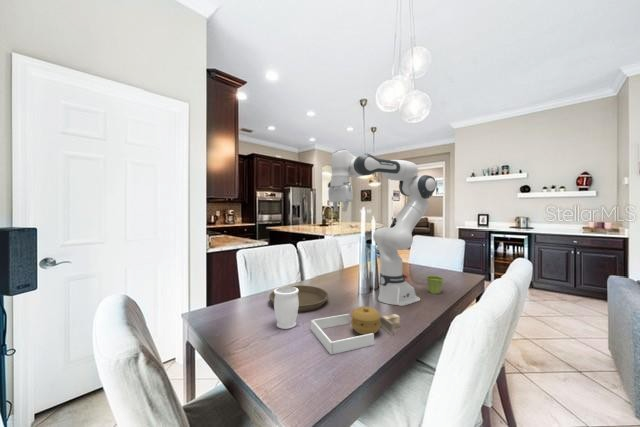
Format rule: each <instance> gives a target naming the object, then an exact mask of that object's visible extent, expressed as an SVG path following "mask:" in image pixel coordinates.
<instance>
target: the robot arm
mask: <svg viewBox="0 0 640 427" xmlns="http://www.w3.org/2000/svg"><path fill="white" fill-rule="evenodd" d="M330 166H331V167H330V169H331V176H330V178H331V179H330V180H329V182H328V184H327V188H328V191H327V192H328V201H329V203H332V207H333V211H334V212H339V207H338V204H339V203H343V207H342V210H341V211H342V212H343V213H344V212H346V213H347V211H348V207H349V202H353V200H354V190H353V186H352V184H351V182H350V177H351V178H359V177H364V176H371V175H373V174H374V173H383V176H384V177H385V179H387V180H391V181H396V182H397V181H399V183H398V189H399V192H400V194H401V195H402V196H405V197H409V200H408V201H407V202H406V203H405V204H404V206H403V207H402V208H401V210H400V211H399V212H398V213H397V215H396V216H395V221H396V222H395V225H394V226H393V227H388V226H383V227H378V228H376V229H375V230H374V232H373V234H372V235H373V236H372V238H373V241H374V242H375V244H376V245H377V248H378V252H379V255H380V273H379V275H380V276H379V281H380V287H379V294H378V297H377V300H378V301H379V302H381V303H383V304H388V305H393V306H394V305H395V306H400V307H403V306H407V305H410V304H414V303H417V302H420V301H421V298H420V297H419V296H417V295H416V291H415V290H416V289H415V287H413V286H412V285H411V284H410V283H408V282H407V281H406V280H409V277H410V276H409V275H407V274H403V259H402V257H401V256H400V254H399V253H398V251H403V250H408V249H410V248H411V247H412V245H413V242H414V237H413V235H412V233H413V230H414V229H415V227H416V225H417V224H418V222H420V221H421V219H422V218H423V217H424V215H425V213H426V212H427V209H428V207H429V204H430V202H429V200H428V199H429V198H431V197H433V194H434V193H435V191H436V187H437V182H436V178H434V176H432V175H428V174H427V175H426V174H424V175H419V174H418V173H419V168H418V166H417V164H416V163H414V162H412V161H409V160H404V159H390V160H389V159H383V158H378V157H376V156H374V155H373V154H370V153H362V154H360V155H358V156H354V155H353V154H352V153H350V152H349V150H348V149H339V150H338V149H337V150H335V151H333V153H332V155H331V162H330Z"/></svg>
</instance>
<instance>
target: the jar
mask: <svg viewBox="0 0 640 427" xmlns="http://www.w3.org/2000/svg"><path fill="white" fill-rule="evenodd" d="M273 291H274V294H275V298H274V304H273V308H274V315H275V316H274V317H275V319H276V321H277V322H276V327H277V328H279V329H284V330H287V329H293V328H294V327H295V326H296V325H297V321H296V320H297V317H298V313H299V312H298V307H299V300H298V294H297V293H298V288H296V287H288V286H281V287H277V288H275V289H273Z"/></svg>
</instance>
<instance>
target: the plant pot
mask: <svg viewBox="0 0 640 427" xmlns="http://www.w3.org/2000/svg"><path fill="white" fill-rule="evenodd" d="M425 279H426V282H427V286H428V292H429V293H430V294H433V295H438V294H441V292H442V285H443V281H444V278H443V277H441V276H437V275H427V276H426V277H425Z"/></svg>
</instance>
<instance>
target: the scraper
mask: <svg viewBox="0 0 640 427" xmlns="http://www.w3.org/2000/svg"><path fill="white" fill-rule="evenodd" d="M380 315H381V319H380V320H379V321H380V323H381V326H380V328H381V329H382V330H383V331H385V332H387V333H388V334H389V335H391V336H392V335H395V328H396V329H397V328H400V327H401V326H400V325H401V323H400V322H401V321H400V320H401V319H400V318H401V317H400V315H398V314H397V313H393V314H389V315H388V314H387V315H382V314H380Z"/></svg>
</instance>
